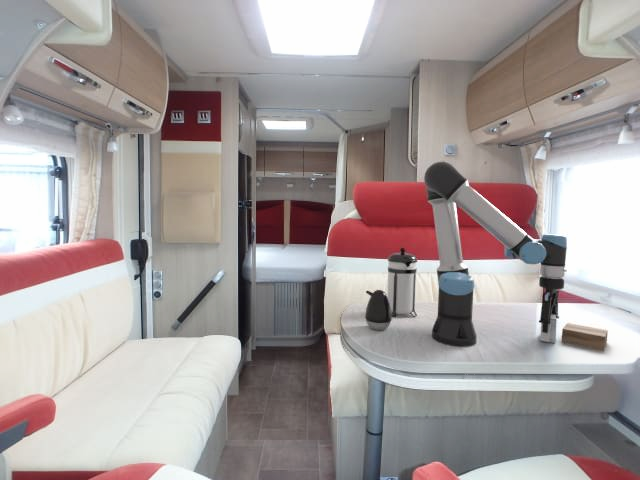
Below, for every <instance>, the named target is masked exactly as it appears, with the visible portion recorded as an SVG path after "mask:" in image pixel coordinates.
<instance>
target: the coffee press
mask: <svg viewBox="0 0 640 480" xmlns="http://www.w3.org/2000/svg"><path fill="white" fill-rule="evenodd" d="M399 251H400V252H395V253H392V254H390V255H389V256H388V258H387V261H388V267H387V272H388V273H387V298H388V300H389V303H390V308H391V315H392V318H396V317H397V315H398V314H399V315H401V314H402V315H407V314H409V315H410V316H412V317H413V318H416V317H417V316H418V315H417V313H416V311H415V306H416V305H415V303H416V281H417V279H416V278H417V272H418V271H417V269H418V268H417V263H418V259H417V257H416V256H415V255H414V254H411V253H406V249H405V248H404V247H401V248H400V249H399Z"/></svg>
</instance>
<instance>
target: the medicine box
mask: <svg viewBox="0 0 640 480" xmlns="http://www.w3.org/2000/svg"><path fill="white" fill-rule="evenodd" d="M545 320H546V319H545ZM550 324H551V328H550V342H549V343H551V344H552V343H553V344H555V343H556V342H557V341H556V338H557V318H556V315H555V314H551V319H550Z"/></svg>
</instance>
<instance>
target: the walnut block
mask: <svg viewBox="0 0 640 480" xmlns="http://www.w3.org/2000/svg"><path fill="white" fill-rule="evenodd" d="M608 331H609V330H608V329H602V328H598V327H597V328H596V327H591V326H586V325H580V324H575V323H570V322H567V323H565V325H564V326H563V328H562V331H561V342H562V343H567V344H572V345H576V346H581V347H584V348H585V347H586V348H590V349H595V350H599V351H604V352H605V349H606V346H607V344H608Z"/></svg>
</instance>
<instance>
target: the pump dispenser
mask: <svg viewBox="0 0 640 480" xmlns="http://www.w3.org/2000/svg"><path fill="white" fill-rule="evenodd" d="M365 293H366V294H367V295H368V296H370V297H369V299H368V302H367V305H366V310H365V316H364V317H365V321H366V325H367V326H368V327H369V328H370V329H372V330H374V329H375V330H374V331H383V330H386V329H387V328H388V327H389V326H390V325H391V322H392V319H393V317H392V312H391V308H390V303H389V300H388V294H386V292H385V291H384V290H382V289H376V290H374V291H373V292H371V291H369V290H366V291H365Z"/></svg>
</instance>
